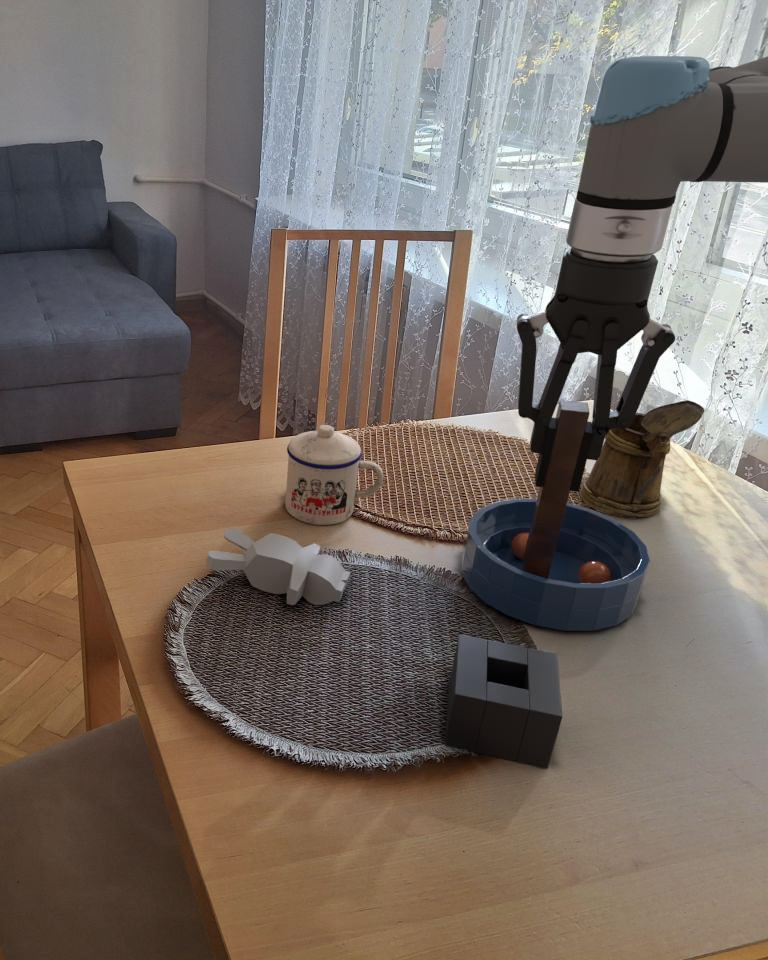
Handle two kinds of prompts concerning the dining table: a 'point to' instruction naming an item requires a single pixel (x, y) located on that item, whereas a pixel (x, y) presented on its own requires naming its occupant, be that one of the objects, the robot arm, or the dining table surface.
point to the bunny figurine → (283, 567)
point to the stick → (555, 488)
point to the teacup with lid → (325, 476)
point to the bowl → (555, 567)
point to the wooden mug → (637, 462)
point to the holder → (504, 701)
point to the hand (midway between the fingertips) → (556, 482)
